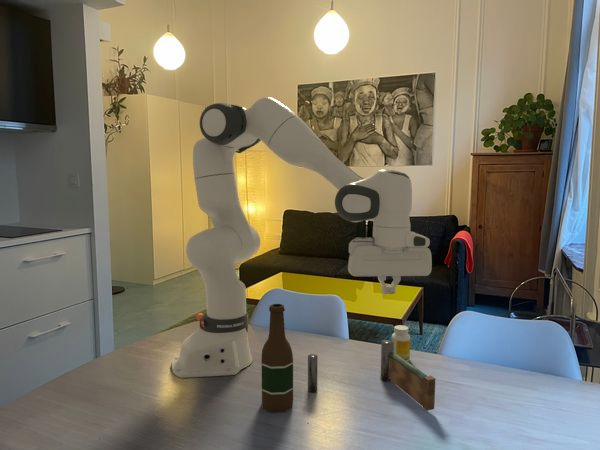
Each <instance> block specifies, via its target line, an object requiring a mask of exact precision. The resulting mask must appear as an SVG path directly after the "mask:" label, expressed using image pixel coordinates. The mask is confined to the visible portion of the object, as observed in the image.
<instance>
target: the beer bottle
mask: <svg viewBox="0 0 600 450" xmlns="http://www.w3.org/2000/svg"><path fill="white" fill-rule="evenodd" d="M285 309H286V308H285V305H284V304H281V303H273V304H270V305H269V308H268V311H269V313H270V314H269V331H268V337H267V339H266V341H265V343H264V344H263V347H262V349H261V407H262V409H263V410H265V411H267V412H270V413H272V414H273V413H285V412H287V411H289V410H291V409H292V408H293V406H294V405H293V404H294V357H293V350H292V347H291V346H292V345H291V343H290V342H289V341H288V339H287V337H286V333H285V331H286V330H285V317H284V316H285V315H284V312H285V311H286V310H285Z"/></svg>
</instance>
